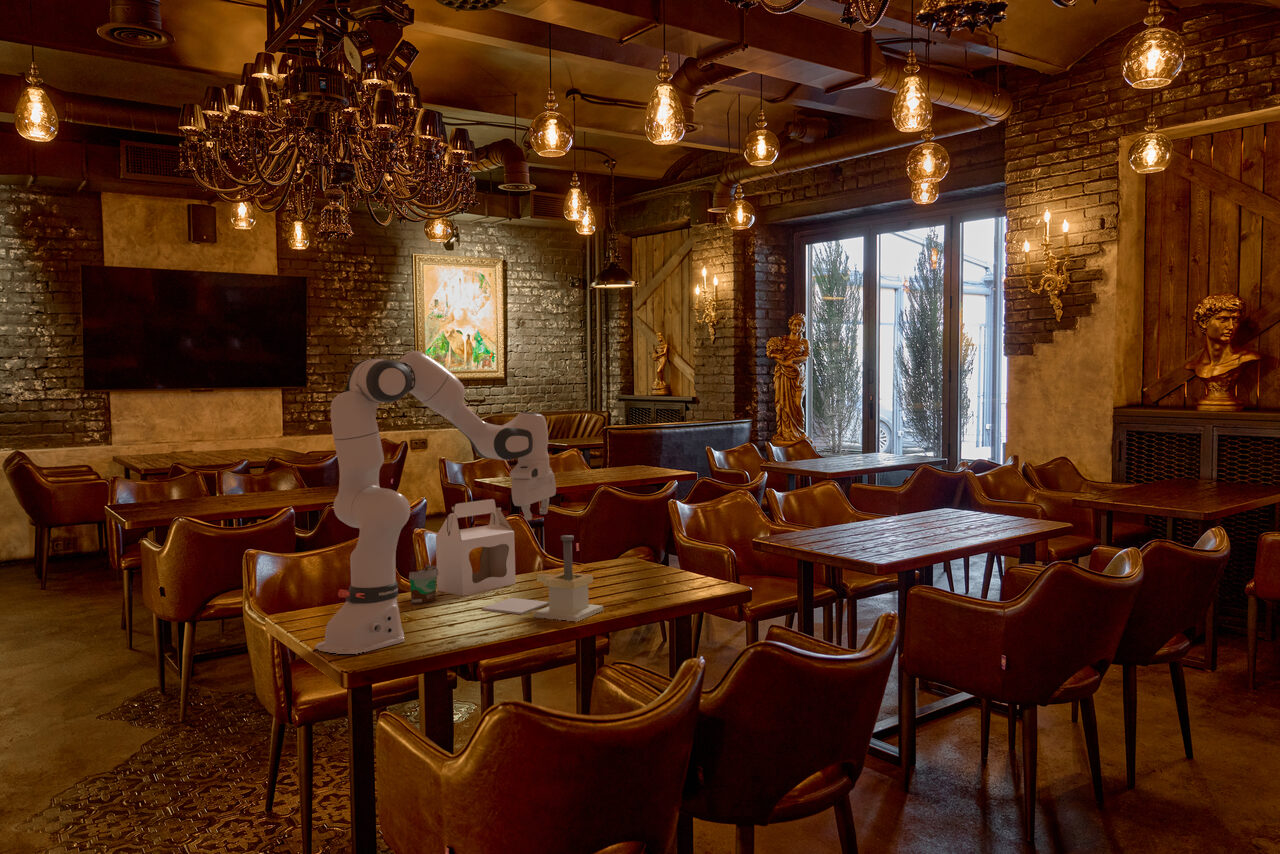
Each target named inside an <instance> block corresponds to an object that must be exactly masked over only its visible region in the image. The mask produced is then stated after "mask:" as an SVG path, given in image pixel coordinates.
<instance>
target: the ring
mask: <svg viewBox="0 0 1280 854" xmlns="http://www.w3.org/2000/svg"><path fill="white" fill-rule="evenodd" d="M536 582H537V583H543V587H548V588H549V587H558V588H567V589H576V588H578V587H581V586H584V585H587V584H588V585H589V584H591V583H594V576H593V574H585V573H575V572H573V580H567V579H564V571H563V572H560V573H557V574H551V573H550V574H548V573H539V574H536Z"/></svg>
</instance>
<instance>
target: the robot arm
mask: <svg viewBox="0 0 1280 854" xmlns="http://www.w3.org/2000/svg"><path fill="white" fill-rule="evenodd" d="M344 390H345V391H343V392H341V393H339V394H337V395H336V396H335V397H334V398H333V399H332V400H331V403H330V420H331V421H330V422H331V423H330V425H331V431H332V432H331V433H332V436H333V442H334V447H335V452H336V457H337V462H338V470H339V471H338V472H339V481H338V482H339V484H338V492H337V495H336V496H335V498H334V500H333V511H334V515H335V517H337V519H338V520H339V521H341V522H342V523H344V524H345V525H347V526H349V527H351V528H353V529H354V528H355V529H356V528H357V529H359V533H358V534H359V535H358V540H357V543H356V546H355V548H354V549H353V550H352V551H351V553H350V559H349V561H350V585H349V588H348V590H347V589H343V588H342V589H339V590H338V592H337V596H338V597H339V598H344V599H345V603H344V604H343V605H342V606H341V607H340V608H339V609H338V611H337V612H336V613H335V614H334V616H332V617H331V618H330V619H329V621H328V622H327V623H326V626H325V636H324V641H321V642H319V643H316V644H315V647H314V648H316V649H318V650H321V651H325V652H329V653H337V654H356V655H359V654H358V653H360V654H363V653H362V652H364V653H366V652H370V651H374V650H378V649H382V648H385V647H389V646H393V645H398V644H400V643H404V642H405V633H404V629H403V626H402V621H401V614H400V608H399V604H398V596H399V584H398V583H399V582H398V581H397V579H396V578H397V577H396V576H397V575H396V574H397V573H396V572H397V571H396V569H397V568H396V556H397V555H396V553H397V552H396V551H397V546H398V543H399V542H398V541H399V537H400V534H401V531H402V529H403V528H404V526H405V525H406V524H407V522H408V521H409V518H410V515H411V505H410V502H409V500H408V499H407V497H405V495H403V494H401V493H399V492H397V491H396V490H393V489H391V488H385V487H380V470H381V467H382V466H383V464H384V463H385V457H384V450H383V447H382V445H383V444H382V440H381V436H380V431H379V426H378V422H377V419H376V418H377V409H378V407H379V405H380V404H382V403H383V404H384V403H385V404H390V403H394V402H396V401H398V400H401V399H402V398H403V397H405V395H407V394H408V393H409V394H411V395H412V396H413V397H415V398H416V399H417V400H418V401H420V402H421V403H422V404H423V405H424V406H426V407H427V408H429V409H430V410H432V411H433V412H435V413H437V414H438V415H440V416H441V417H443V418H445V419H446V420H447V421H448V422H449V423H451V424H452V425H453V426H454V427H455V428H456V429H457V430H458V431H459V432H460V433H462V435H464V436H465V438H467V440H468V441H469V443H470V444H471V446H472V448H473V450H474V452H475V453H476V455H478V456H479V457H480V458H482V459H487V460H499V461H512V460H515V459H517V463H516V465H515V466H514V467H513V468H512V469H511V470H510V471H509V478H510V479H512V480H511V486H510V487H511V500H512V503H513V505H514V506H515V507H521V511H522V512H523V517H524V518H523V519H524V520H525V521H531V520H532V519H533V513H532V512H531V510H530V509H531V505H532V504H534V503H537V502H541V504H540V507H539V514H540V515H546V514H548V511H549V510H548V507H549V504H550V498H551V497H554V496H556V492H557V487H556V486H557V485H556V478H555V473H554V472H553V470H552V467H551V466H550V456H549V455H550V454H549V453H548V446H549V432H548V424H547V420H546V417H545V416H544V415H543V414H541V413H538V412H528V411H520V412H519V413H518V414H517V415H516V416H514V418H513V419H512V420H510V421H507V422H506V423H504V424H502V425H499V424H498V425H497V424H493V423H489V422H485V421H484V420H482V419H481V418H480V417H479V416H478V414H477V415H476V414H475V413H474V412H473V411H472V409H470V408H469V407H468V406H467V405H466V404H465V403H464V401H465V396H466V391H465V386H464V384H463V383H462V382H461V380H460V379H459V378H458V377H457V376H456V374H454V373H452V372H451V371H450V370H449V369H448V368H447V367H445V366H444V365H443V364H442V363H440V362H439V361H437V360H435V358H432V356H429V355H427V354H426V353H424V352H421V351H419V350H412V351H409V352H407V353H406V354H404V355H403V356H402V357H400V359H399V360H398V361H397V360H392V359H391V360H390V359H383V358H372V359H371V358H370V359H363V360H362V361H359V362H358V363H356V364H355V365H354V366H353V368H352V369H351V371H350V372H349V376H348V381H347V383H346V387H345V389H344ZM316 649H315V650H316ZM318 650H317V651H318ZM329 653H328V654H329ZM337 654H336V655H337Z"/></svg>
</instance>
